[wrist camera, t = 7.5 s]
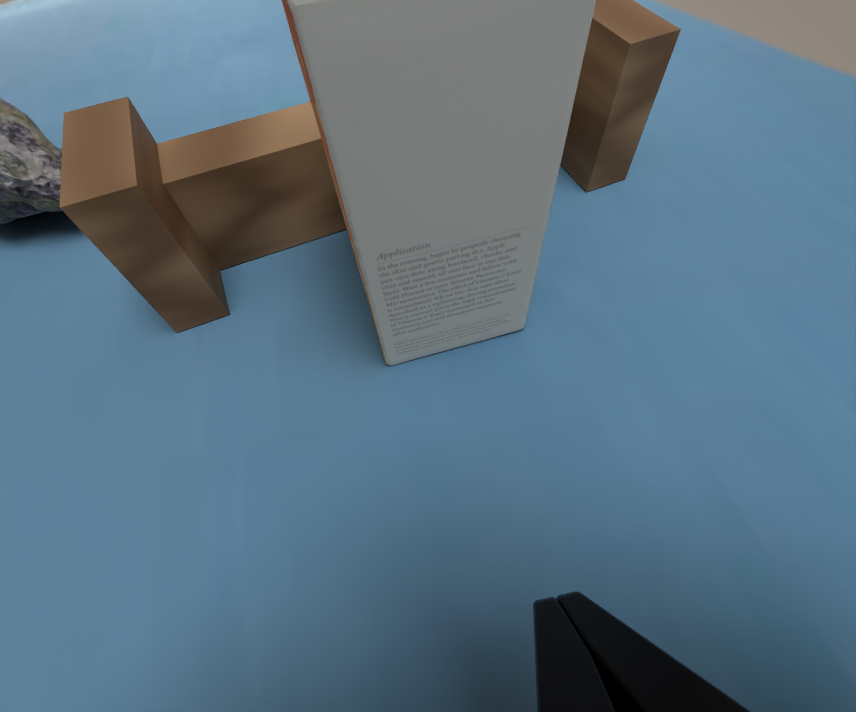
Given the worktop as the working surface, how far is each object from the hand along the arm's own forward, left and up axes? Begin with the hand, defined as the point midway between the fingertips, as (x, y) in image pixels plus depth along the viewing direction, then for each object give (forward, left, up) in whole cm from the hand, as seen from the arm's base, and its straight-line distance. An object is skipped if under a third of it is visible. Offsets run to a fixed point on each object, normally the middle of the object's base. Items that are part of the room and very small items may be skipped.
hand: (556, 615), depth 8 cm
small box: (+3, +14, -7) cm, 16 cm away
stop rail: (+3, +19, -7) cm, 20 cm away
